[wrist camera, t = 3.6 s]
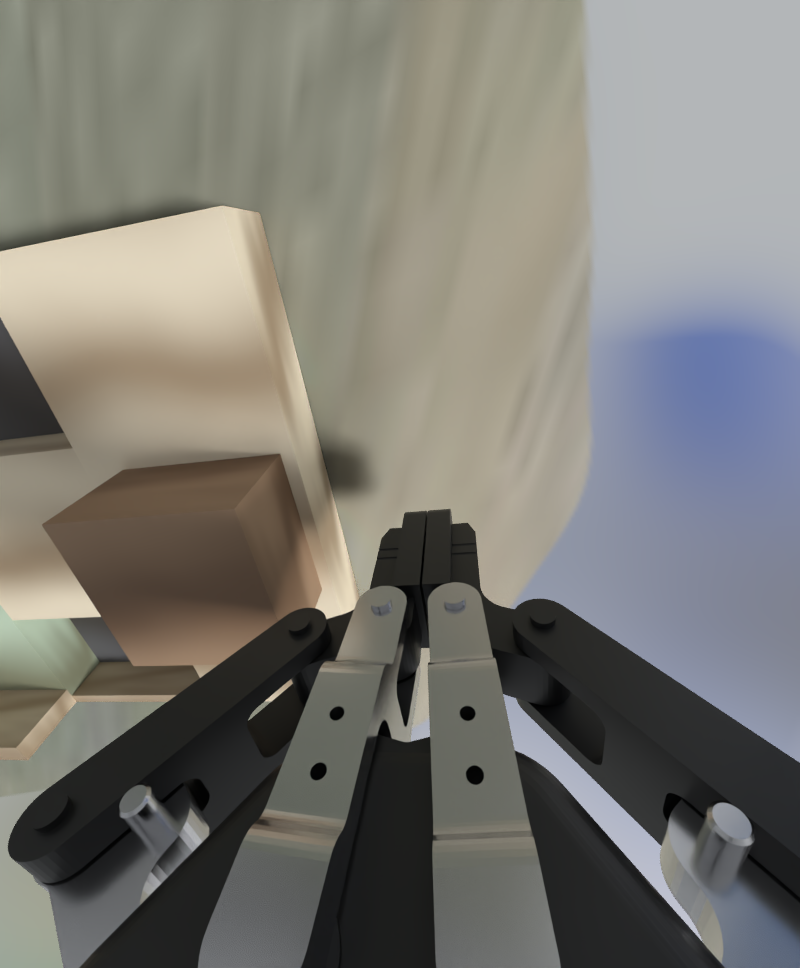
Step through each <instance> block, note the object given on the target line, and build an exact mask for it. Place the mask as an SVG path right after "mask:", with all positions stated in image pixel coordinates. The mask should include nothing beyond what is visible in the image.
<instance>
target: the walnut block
mask: <svg viewBox="0 0 800 968" xmlns="http://www.w3.org/2000/svg"><path fill="white" fill-rule="evenodd" d="M42 526H43V528H44V529H45V531H46V532H47V534H48V536H49V537H50V539H51V540H52V542H53V543H54V545H55V546H56V548H57V549H58V551H59V552H60V554H61V555H62V557H63V559H64V560H65V562H66V563H67V565H68V566H69V568H70V569H71V571H72V572H73V574H74V575H75V577H76V579H77V580H78V582H79V583H80V585H81V586H82V588H83V589H84V591H85V592H86V594H87V595H88V597H89V599H90V600H91V602H92V603H93V605H94V606H95V608H96V609H97V611H98V612H99V614H100V615H101V617H102V619H103V620H104V622H105V623H106V625H107V626H108V628H109V629H110V631H111V632H112V634H113V635H114V637H115V639H116V640H117V642H118V643H119V645H120V646H121V648H122V649H123V651H124V652H125V654H126V655H127V657H128V659H129V660H130V662H131V663H132V665H133V666H175V665H219V664H220V663H221V662H223V661H224V660H226V659H227V658H228V657H230V656H231V655H232V654H234V653H235V652H237V651H238V650H239V649H241V648H242V647H243V646H245V645H246V644H248V643H249V642H250V641H252V640H253V639H254V638H256V637H257V636H259V635H260V634H261V633H263V632H264V631H265V630H267V629H268V628H270V627H271V626H272V625H274V624H275V623H276V622H278V621H279V620H281V619H282V618H283V617H285V616H286V615H288V614H289V613H291V612H293V611H295V610H298V609H302V608H315V607H316V605H317V602H318V599H319V597H320V594H321V591H322V587H321V584H320V581H319V577H318V574H317V571H316V568H315V565H314V561H313V558H312V555H311V552H310V548H309V545H308V542H307V539H306V535H305V532H304V529H303V526H302V523H301V519H300V516H299V513H298V510H297V506H296V503H295V500H294V497H293V493H292V490H291V487H290V484H289V480H288V477H287V474H286V471H285V468H284V464H283V461H282V458H281V455H280V454H273V455H263V456H253V457H243V458H233V459H223V460H214V461H204V462H194V463H184V464H174V465H165V466H155V467H145V468H135V469H125V470H122V471H120V472H119V473H117V474H116V475H114V476H113V477H112V478H110V479H109V480H107V481H106V482H104V483H103V484H101V485H100V486H98V487H97V488H95V489H94V490H92V491H91V492H89V493H88V494H86V495H85V496H83V497H82V498H80V499H79V500H77V501H76V502H74V503H73V504H71V505H70V506H69V507H67V508H66V509H64V510H63V511H61V512H60V513H58V514H57V515H55V516H54V517H52V518H51V519H49V520H48V521H46V522H45V523H43V524H42Z"/></svg>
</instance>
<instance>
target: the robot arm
mask: <svg viewBox="0 0 800 968" xmlns="http://www.w3.org/2000/svg"><path fill="white" fill-rule="evenodd" d="M421 648H430V663H428V688H429V716H430V737H428V738H424V739H420V740H416V741H412V742H411V731H412V725H413V718H414V712H415V706H416V699H417V693H418V686H419V680H420V665H419V663H420V655H421ZM290 679H291V680H292V683H293V684H292V685H291V686H289V687H288V688H287V689H286V690H285V691H283V692H282V693H281V694H280V695H279V696H278V697H276V698H275V699H274V700H273V701H272V702H271V703H269V704H268V705H267V706H266V707H265V708H263V709H262V710H261V711H260V712H259V713H258V714H256V715H255V716H254V717H253V718H252V719H250V720H249V721H248V719H249V717H250V715H251V714H252V712H253V711H254V710H255V709H256V708H257V707H258V706H259V705H261V704H262V703H263V702H264V701H265V700H267V699H268V698H269V697H270V696H271V695H273V694H274V693H275V692H276V691H277V690H278V689H280V688H281V687H282V686H283V685H284V684H286V683H287V682H288V681H289V680H290ZM503 694H505V695H508V696H511V697H514V698H516V699H517V701H518V704H519V705H520V707H521V708H522V709H523V710H524V711H525V712H526V713H527V714H528V715H529V716H530V717H531V718H532V719H533V720H534V721H535V722H536V723H537V724H538V725H539V726H540V727H541V728H542V729H543V730H544V731H545V732H546V733H547V734H548V735H549V736H550V737H551V738H552V739H553V740H554V741H555V742H556V743H557V744H559V746H560V747H561V748H562V749H563V750H564V751H565V752H566V753H567V754H568V755H569V756H571V757H572V759H573V760H574V761H575V762H577V763H578V764H579V765H580V766H581V767H582V768H583V769H584V770H585V771H586V772H587V773H588V774H589V775H590V776H591V777H592V778H593V779H594V780H595V781H596V782H597V783H598V784H599V785H600V786H601V787H602V788H603V789H604V790H605V791H606V792H607V793H608V794H609V795H610V796H611V797H612V798H613V799H614V800H615V801H616V802H617V803H618V804H619V805H620V806H621V807H622V808H623V809H624V810H625V811H626V812H627V813H628V814H629V815H631V817H633V818H634V820H635V821H637V822H638V823H639V824H640V825H641V826H642V827H643V828H644V829H645V830H646V831H647V832H648V833H649V834H650V835H651V836H652V837H653V838H654V839H655V840H656V841H657V842H658V843H659V844H660V845H661V852H660V863H661V869H662V873H663V875H664V878H665V881H666V883H667V885H668V887H669V889H670V891H671V893H672V894H673V896H674V897H675V899H676V900H677V901H678V903H679V904H680V905H681V906H682V908H683V909H684V910H685V911H686V913H687V914H688V915H689V916H690V918H691V920H692V922H693V923H694V925H695V926H696V928H697V930H698V932H699V934H700V936H701V939H702V941H703V942H702V941H701V940H700V939H699V938H698V937H697V936H696V935H695V933H694V932H693V931H692V930H691V929H690V928H689V926H688V925H687V924H686V923H685V922H684V921H683V920H682V919H681V917H680V916H679V915H678V914H677V913H676V912H675V911H674V910H673V908H672V907H671V906H670V905H669V904H668V903H667V902H666V901H665V899H664V898H663V897H662V896H661V895H660V894H659V893H658V892H657V890H656V889H655V888H654V887H653V886H652V885H651V884H650V883H649V881H648V880H647V879H646V878H645V877H644V876H643V875H642V874H641V872H639V870H638V869H637V868H636V867H635V866H634V865H633V864H632V862H631V861H630V860H629V859H628V858H627V857H626V856H625V855H624V853H623V852H622V851H621V850H620V849H619V848H618V847H617V845H616V844H615V843H614V842H613V841H612V840H611V839H610V838H609V837H608V835H607V834H606V833H605V832H604V831H603V830H602V829H601V827H600V826H599V825H598V824H597V823H596V822H595V821H594V820H593V818H592V817H591V816H590V815H589V814H588V813H587V812H586V810H585V809H584V808H583V807H582V806H581V805H580V804H579V803H578V801H577V800H576V799H575V798H574V797H573V796H572V795H571V793H570V792H569V791H568V790H567V789H566V788H565V787H564V786H563V784H561V783H560V781H559V780H558V779H557V778H556V777H555V776H554V775H553V774H551V773H550V772H549V771H548V770H547V769H546V768H544V767H543V766H542V765H540V764H539V763H537V762H536V761H534V760H533V759H531V758H529V757H527V756H526V755H524V754H522V753H519V752H517V751H515V750H514V746H513V741H512V736H511V731H510V726H509V721H508V717H507V712H506V707H505V702H504V697H503ZM8 851H9V854H10V856H11V858H12V859H14V860H15V861H16V862H17V863H18V864H20V865H21V866H22V867H23V868H25V869H26V870H27V871H28V872H29V873H31V874H32V875H33V877H34V879H35V881H36V882H37V883H38V884H39V885H40V886H42V887H43V888H44V889H45V890H46V891H48V892H49V894H50V899H51V904H52V909H53V915H54V920H55V925H56V931H57V936H58V941H59V946H60V951H61V957H62V962H63V967H64V968H800V763H799V762H797V761H796V760H795V759H793V758H792V757H790V756H788V755H787V754H785V753H784V752H782V751H781V750H779V749H778V748H776V747H775V746H773V745H772V744H770V743H769V742H767V741H766V740H764V739H763V738H761V737H760V736H758V735H757V734H755V733H754V732H752V731H751V730H749V729H748V728H746V727H745V726H743V725H742V724H740V723H739V722H737V721H736V720H734V719H732V718H731V717H730V716H728V715H727V714H725V713H724V712H722V711H721V710H719V709H718V708H716V707H714V706H713V705H712V704H710V703H709V702H707V701H706V700H704V699H703V698H701V697H699V696H698V695H697V694H695V693H693V692H692V691H690V690H689V689H688V688H686V687H685V686H683V685H682V684H680V683H678V682H677V681H675V680H674V679H672V678H671V677H669V676H668V675H666V674H665V673H663V672H662V671H660V670H659V669H657V668H656V667H654V666H653V665H651V664H650V663H648V662H647V661H645V660H644V659H642V658H641V657H639V656H638V655H636V654H635V653H633V652H632V651H630V650H629V649H627V648H626V647H624V646H623V645H621V644H620V643H618V642H617V641H615V640H614V639H612V638H611V637H609V636H608V635H606V634H605V633H603V632H602V631H600V630H599V629H597V628H596V627H594V626H592V625H591V624H589V623H588V622H586V621H585V620H584V619H582V618H581V617H579V616H578V615H576V614H574V613H573V612H572V611H570V610H569V609H567V608H566V607H564V606H562V605H560V604H559V603H556V602H554V601H551V600H547V599H532V600H528V601H525V602H523V603H521V604H520V605H518V606H517V608H516V609H515V610H514V609H510V608H505V607H501V606H498V605H496V604H494V603H492V602H491V601H489V600H488V599H487V598H486V597H485V596H484V595H483V593H482V591H481V588H480V579H479V568H478V557H477V546H476V535H475V531H474V530H473V529H472V528H471V526H470V525H469V524H468V523H461V524H452V516H451V509H443V510H430V511H428V513H427V511H419V512H406V513H405V514H404V519H403V525H402V528H392V529H389V530H388V532H387V533H386V534H385V535H384V536H383V537H382V539H381V544H380V548H379V552H378V556H377V561H376V565H375V569H374V573H373V578H372V582H371V586H370V590H368V591H367V592H365V593H364V594H363V595H362V596H361V597H360V598H359V599H358V601H357V603H356V606H355V608H354V610H352V611H350V612H348V613H345V614H342V615H339V616H335V617H332V618H328V619H326V616H325V614H324V613H323V612H322V611H321V610H319V609H316V608H302V609H298V610H295V611H293V612H291V613H289V614H288V615H286V616H285V617H283V618H282V619H281V620H279V621H278V622H276V623H275V624H274V625H272V626H271V627H270V628H268V629H267V630H265V631H264V632H263V633H261V634H260V635H259V636H257V637H256V638H254V639H253V640H252V641H250V642H249V643H248V644H246V645H245V646H243V647H242V648H241V649H239V650H238V651H237V652H235V653H234V654H232V655H231V656H230V657H228V658H227V659H226V660H224V661H223V662H221V663H220V664H219V665H217V666H216V667H215V668H213V669H212V670H210V671H209V672H208V673H206V674H205V675H204V676H202V677H201V678H199V679H198V680H197V681H195V682H194V683H193V684H191V685H190V686H188V687H187V688H186V689H184V690H183V691H182V692H180V693H179V694H177V695H176V696H175V697H173V698H172V699H171V700H169V701H168V702H166V703H165V704H164V705H162V706H161V707H160V708H158V709H157V710H155V711H154V712H153V713H151V714H150V715H149V716H147V717H146V718H144V719H143V720H142V721H140V722H139V723H138V724H136V725H135V726H133V727H132V728H131V729H129V730H128V731H127V732H125V733H124V734H122V735H121V736H120V737H118V738H117V739H116V740H114V741H113V742H111V743H110V744H109V745H107V746H106V747H105V748H103V749H102V750H100V751H99V752H98V753H96V754H95V755H93V756H92V757H91V758H89V759H88V760H87V761H85V762H84V763H82V764H81V765H80V766H78V767H77V768H76V769H74V770H73V771H71V772H70V773H69V774H67V775H66V776H65V777H63V778H62V779H60V780H59V781H58V782H56V783H55V784H54V785H52V786H51V787H49V788H48V789H47V790H46V791H44V792H43V793H42V794H41V795H39V796H38V797H37V798H36V799H35V800H34V801H33V802H32V803H31V804H30V805H29V806H28V808H27V809H26V810H25V811H24V812H23V814H22V815H21V817H20V818H19V820H18V821H17V823H16V824H15V826H14V828H13V830H12V833H11V835H10V839H9V843H8Z"/></svg>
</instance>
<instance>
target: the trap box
mask: <svg viewBox="0 0 800 968" xmlns="http://www.w3.org/2000/svg"><path fill="white" fill-rule="evenodd" d="M273 454H280V455H281V458H282V461H283V464H284V468H285V471H286V474H287V477H288V480H289V484H290V487H291V490H292V493H293V497H294V500H295V503H296V506H297V510H298V513H299V516H300V519H301V523H302V526H303V529H304V532H305V535H306V539H307V542H308V545H309V548H310V552H311V555H312V558H313V561H314V565H315V568H316V571H317V574H318V577H319V581H320V584H321V587H322V591H321V594H320V597H319V599H318V602H317V605H316V607H315V608H316V609H319V610H321V611H322V612H323V613H324V614H325V616H326V619H328V618H332V617H335V616H339V615H342V614H345V613H348V612H350V611H352V610H354V608H355V606H356V603H357V601H358V599H359V594H358V590H357V586H356V582H355V578H354V574H353V571H352V567H351V563H350V559H349V555H348V551H347V547H346V544H345V540H344V536H343V532H342V528H341V524H340V520H339V516H338V513H337V509H336V505H335V501H334V497H333V493H332V489H331V486H330V482H329V478H328V474H327V470H326V466H325V462H324V459H323V455H322V451H321V447H320V443H319V439H318V435H317V432H316V428H315V424H314V420H313V416H312V412H311V408H310V405H309V401H308V397H307V393H306V389H305V385H304V381H303V377H302V374H301V370H300V366H299V362H298V358H297V354H296V350H295V347H294V343H293V339H292V335H291V331H290V327H289V323H288V320H287V316H286V312H285V308H284V304H283V300H282V296H281V293H280V289H279V285H278V281H277V277H276V273H275V269H274V265H273V262H272V258H271V254H270V250H269V246H268V242H267V238H266V235H265V231H264V227H263V223H262V219H261V215H260V213H258V212H253V211H247V210H242V209H237V208H232V207H227V206H218V207H213V208H208V209H203V210H199V211H194V212H189V213H184V214H179V215H174V216H170V217H165V218H160V219H155V220H150V221H145V222H140V223H136V224H131V225H126V226H121V227H116V228H111V229H106V230H102V231H97V232H92V233H87V234H82V235H77V236H73V237H68V238H63V239H58V240H53V241H48V242H43V243H39V244H34V245H29V246H24V247H19V248H14V249H10V250H5V251H0V760H29V759H30V757H31V756H32V755H33V754H34V753H35V751H36V750H37V749H38V748H39V747H40V745H41V744H42V743H43V742H44V740H45V739H46V738H47V737H48V736H49V734H50V733H51V732H52V731H53V730H54V728H55V727H56V726H57V725H58V724H59V722H60V721H61V720H62V719H63V717H64V716H65V715H66V714H67V713H68V711H69V710H70V709H71V708H72V707H73V705H74V704H75V703H76V702H166V701H169V700H171V699H172V698H173V697H175V696H176V695H177V694H179V693H180V692H182V691H183V690H184V689H186V688H187V687H188V686H190V685H191V684H193V683H194V682H195V681H197V680H198V679H199V678H201V677H202V676H204V675H205V674H206V673H208V672H209V671H210V670H212V669H213V668H215V667H216V666H217V665H175V666H133V665H132V663H131V662H130V660H129V659H128V657H127V655H126V654H125V652H124V651H123V649H122V648H121V646H120V645H119V643H118V642H117V640H116V639H115V637H114V635H113V634H112V632H111V631H110V629H109V628H108V626H107V625H106V623H105V622H104V620H103V619H102V617H101V615H100V614H99V612H98V611H97V609H96V608H95V606H94V605H93V603H92V602H91V600H90V599H89V597H88V595H87V594H86V592H85V591H84V589H83V588H82V586H81V585H80V583H79V582H78V580H77V579H76V577H75V575H74V574H73V572H72V571H71V569H70V568H69V566H68V565H67V563H66V562H65V560H64V559H63V557H62V555H61V554H60V552H59V551H58V549H57V548H56V546H55V545H54V543H53V542H52V540H51V539H50V537H49V536H48V534H47V532H46V531H45V529H44V528H43V526H42V524H43V523H45V522H46V521H48V520H49V519H51V518H52V517H54V516H55V515H57V514H58V513H60V512H61V511H63V510H64V509H66V508H67V507H69V506H70V505H71V504H73V503H74V502H76V501H77V500H79V499H80V498H82V497H83V496H85V495H86V494H88V493H89V492H91V491H92V490H94V489H95V488H97V487H98V486H100V485H101V484H103V483H104V482H106V481H107V480H109V479H110V478H112V477H113V476H114V475H116V474H117V473H119V472H120V471H122V470H125V469H135V468H145V467H155V466H165V465H174V464H184V463H194V462H204V461H214V460H223V459H233V458H243V457H253V456H263V455H273ZM292 684H293V683H292V680H291V679H290V680H289V681H288V682H287V683H286V684H284V685H283V686H282V687H281V688H280V689H278V690H277V691H276V692H275V693H274V694H273V695H271V696H270V697H269V698H268V699H267V700H265V701H273V700H274V699H275V698H276V697H278V696H279V695H280V694H281V693H282V692H283V691H285V690H286V689H287V688H288V687H289V686H291V685H292Z"/></svg>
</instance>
